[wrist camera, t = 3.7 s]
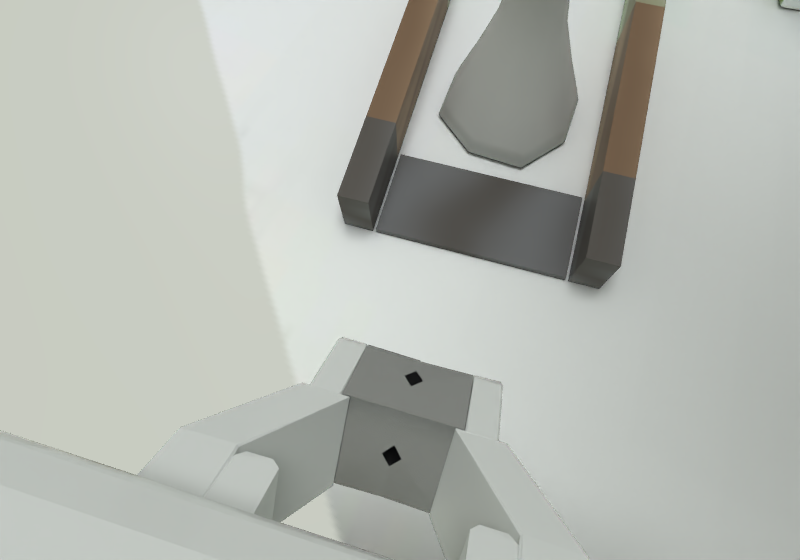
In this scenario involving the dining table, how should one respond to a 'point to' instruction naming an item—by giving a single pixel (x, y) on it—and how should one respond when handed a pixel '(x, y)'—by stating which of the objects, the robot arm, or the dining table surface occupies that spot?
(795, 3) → the syrup box
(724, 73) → the dining table surface
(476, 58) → the flask
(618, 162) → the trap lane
